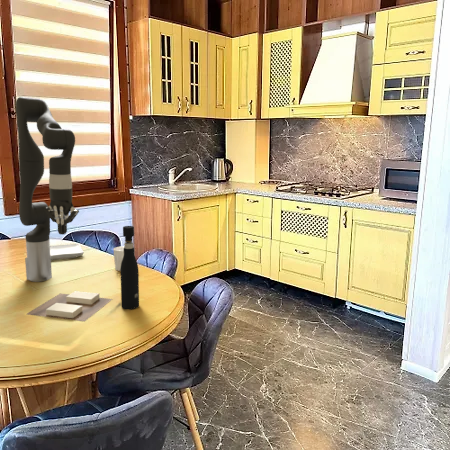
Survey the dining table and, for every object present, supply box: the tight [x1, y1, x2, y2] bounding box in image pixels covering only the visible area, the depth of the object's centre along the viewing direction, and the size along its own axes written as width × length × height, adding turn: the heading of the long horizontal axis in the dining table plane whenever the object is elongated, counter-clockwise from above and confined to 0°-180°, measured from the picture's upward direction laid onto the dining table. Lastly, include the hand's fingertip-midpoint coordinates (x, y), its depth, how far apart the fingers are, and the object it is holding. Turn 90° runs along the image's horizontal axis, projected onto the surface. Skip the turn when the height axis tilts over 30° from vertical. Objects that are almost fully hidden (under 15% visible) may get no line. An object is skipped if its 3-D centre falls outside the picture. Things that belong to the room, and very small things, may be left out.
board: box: [26, 293, 113, 322], centre depth 148 cm, size 22×20×1 cm
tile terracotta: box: [46, 303, 82, 318], centre depth 142 cm, size 2×6×10 cm
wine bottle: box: [119, 225, 140, 311], centre depth 149 cm, size 6×6×30 cm
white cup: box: [113, 245, 125, 272], centre depth 194 cm, size 8×8×10 cm
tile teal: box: [66, 290, 101, 304], centre depth 154 cm, size 2×6×10 cm
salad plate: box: [50, 243, 84, 261], centre depth 215 cm, size 21×21×3 cm
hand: (62, 233), depth 150 cm, fingers closed
